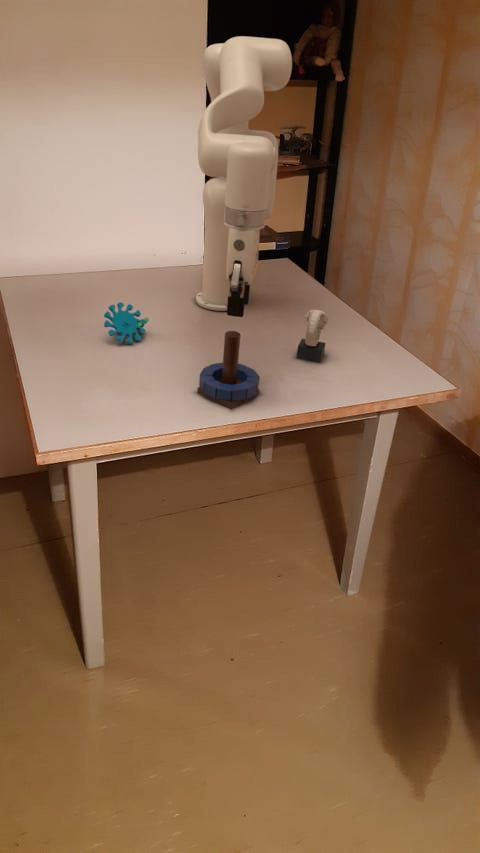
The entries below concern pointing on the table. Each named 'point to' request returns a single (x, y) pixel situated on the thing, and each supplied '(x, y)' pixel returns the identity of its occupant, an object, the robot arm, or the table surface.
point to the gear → (125, 323)
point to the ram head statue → (313, 337)
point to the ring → (227, 390)
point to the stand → (229, 368)
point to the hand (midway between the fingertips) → (237, 308)
